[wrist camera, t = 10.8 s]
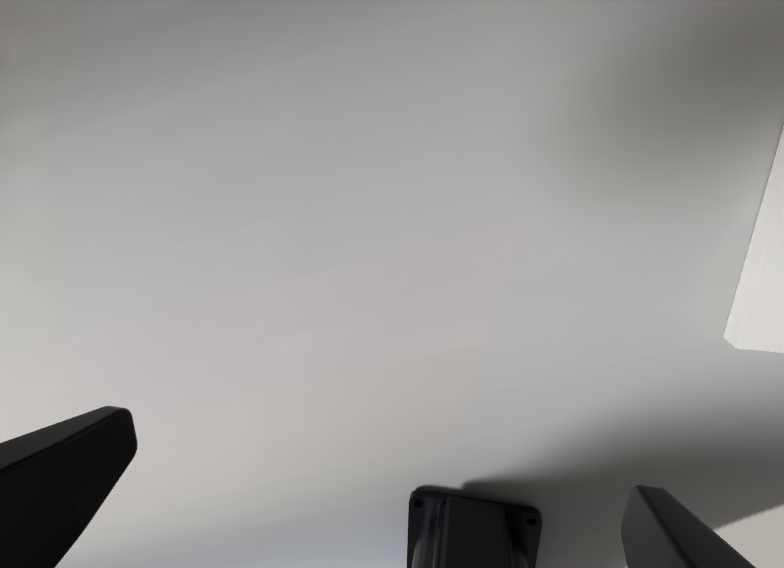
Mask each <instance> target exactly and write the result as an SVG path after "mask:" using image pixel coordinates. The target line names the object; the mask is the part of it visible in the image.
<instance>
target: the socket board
mask: <svg viewBox="0 0 784 568" xmlns="http://www.w3.org/2000/svg"><path fill="white" fill-rule="evenodd" d="M723 337H724V338H725V339H726V340H727V341H728V342H730V343H731V344H732V345H733V346H734V347H735V348H737V349H748V350H760V351H771V352H783V353H784V127H783V130H782V134H781V137H780V141H779V144H778V148H777V151H776V155H775V158H774V162H773V165H772V169H771V172H770V176H769V179H768V183H767V186H766V190H765V193H764V197H763V200H762V203H761V207H760V210H759V214H758V217H757V221H756V224H755V228H754V231H753V235H752V238H751V242H750V245H749V249H748V252H747V256H746V259H745V263H744V266H743V270H742V273H741V276H740V280H739V283H738V287H737V290H736V294H735V297H734V301H733V304H732V308H731V311H730V315H729V318H728V322H727V325H726V329H725V332H724V336H723Z"/></svg>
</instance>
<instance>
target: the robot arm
mask: <svg viewBox="0 0 784 568" xmlns="http://www.w3.org/2000/svg"><path fill="white" fill-rule="evenodd" d="M136 451H137V438H136V433H135V428H134V423H133V418H132V414H131V412H130V411H129V410H128V409H126V408H121V407H114V406H105V407H102V408H99V409H96V410H93V411H90V412H88V413H85V414H82V415H79V416H76V417H73V418H71V419H68V420H65V421H62V422H59V423H56V424H54V425H51V426H48V427H45V428H42V429H39V430H36V431H34V432H31V433H28V434H25V435H22V436H19V437H17V438H14V439H11V440H8V441H5V442H2V443H0V568H55V567H56V565H57V564H58V563H59V562H60V560H61V559H62V558H63V557H64V555H65V554H66V553H67V552H68V550H69V549H70V548H71V547H72V545H73V544H74V543H75V542H76V540H77V539H78V538H79V536H80V535H81V534H82V532H83V531H84V530H85V528H86V527H87V525H88V524H89V523H90V521H91V520H92V518H93V517H94V515H95V514H96V512H97V511H98V509H99V508H100V506H101V505H102V504H103V502H104V501H105V499H106V498H107V496H108V495H109V493H110V492H111V490H112V489H113V487H114V486H115V484H116V483H117V481H118V480H119V478H120V477H121V475H122V474H123V473H124V471H125V470H126V468H127V467H128V465H129V464H130V462H131V461H132V459H133V458H134V456H135V454H136ZM417 500H421V501H422V502H419V501H417ZM531 517H532V518H533V519H529V518H531ZM541 528H542V518H541V513H540V511H539V510H538V509H536V508H533V507H528V506H522V505H515V504H509V503H502V502H495V501H489V500H482V499H475V498H469V497H462V496H456V495H449V494H442V493H436V492H429V491H423V490H415V491H413V492H412V493H411V495H410V500H409V518H408V548H407V568H535V564H536V558H537V552H538V546H539V540H540V534H541ZM621 532H622V540H623V545H624V550H625V555H626V560H627V565H628V568H756V567H754V566H753V565H752V564H751V563H749V561H747V560H746V559H745V558H744V557H743V556H742V555H740V554H739V553H738V552H737V551H736V550H735V549H733V548H732V547H731V546H730V545H729V544H728V543H727V542H725V541H724V540H723V539H722V538H721V537H720V536H719V535H717V534H716V533H715V532H714V531H713V530H712V529H710V528H709V527H708V526H707V525H706V524H705V523H704V522H702V521H701V520H700V519H699V518H698V517H697V516H695V515H694V514H693V513H692V512H691V511H690V510H689V509H687V508H686V507H685V506H684V505H683V504H682V503H680V502H679V501H678V500H677V499H676V498H675V497H674V496H672V495H671V494H670V493H669V492H668V491H666V490H665V489H664V488H662V487H659V486H653V485H646V484H640V483H637V484H634V485H633V486H632V487H631V489H630V492H629V496H628V500H627V504H626V508H625V512H624V516H623V520H622V527H621Z"/></svg>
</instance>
